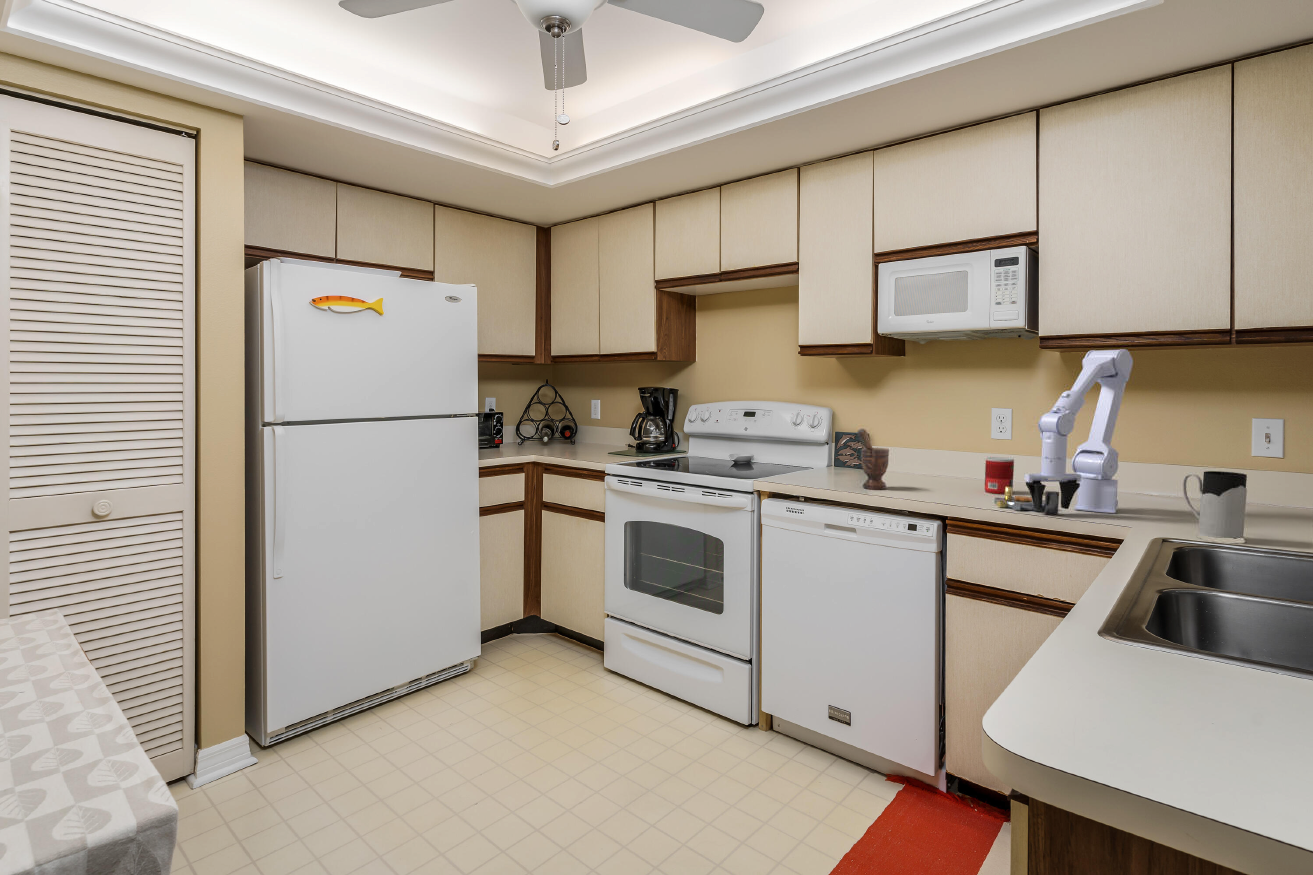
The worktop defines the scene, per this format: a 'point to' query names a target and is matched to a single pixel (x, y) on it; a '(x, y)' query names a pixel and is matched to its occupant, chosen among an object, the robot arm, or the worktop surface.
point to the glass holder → (1220, 504)
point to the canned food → (998, 474)
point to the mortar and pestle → (873, 462)
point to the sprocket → (1017, 501)
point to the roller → (1051, 502)
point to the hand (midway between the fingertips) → (1051, 508)
